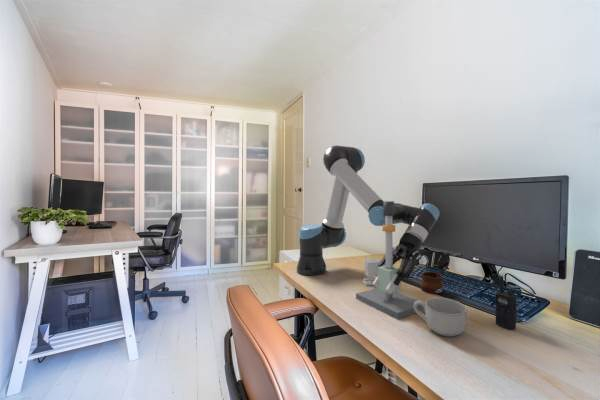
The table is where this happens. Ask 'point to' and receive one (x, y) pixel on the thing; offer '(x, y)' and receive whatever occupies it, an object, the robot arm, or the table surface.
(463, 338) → the table surface
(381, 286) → the sleeve
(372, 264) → the security camera
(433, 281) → the ceramic pot
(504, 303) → the two-way radio
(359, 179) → the robot arm
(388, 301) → the post
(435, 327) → the teacup
